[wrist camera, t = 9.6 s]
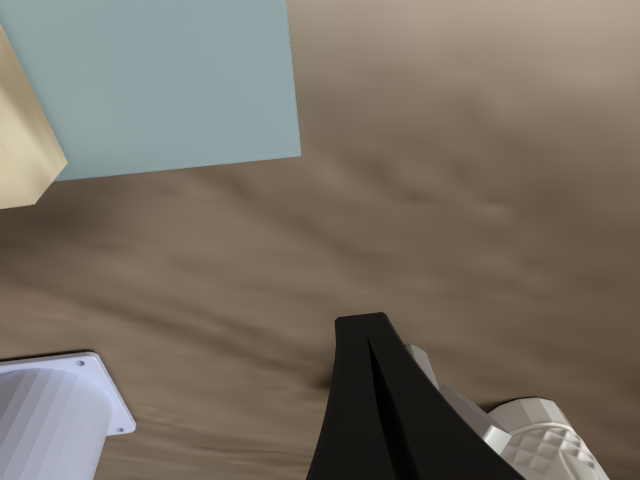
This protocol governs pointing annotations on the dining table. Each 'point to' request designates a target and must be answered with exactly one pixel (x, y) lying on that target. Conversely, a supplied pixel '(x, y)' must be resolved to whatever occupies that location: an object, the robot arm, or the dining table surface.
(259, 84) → the blue-grey block
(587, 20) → the dining table surface
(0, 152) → the folding leg
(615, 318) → the dining table surface
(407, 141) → the dining table surface
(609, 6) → the dining table surface
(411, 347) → the lighter
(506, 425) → the white cup
